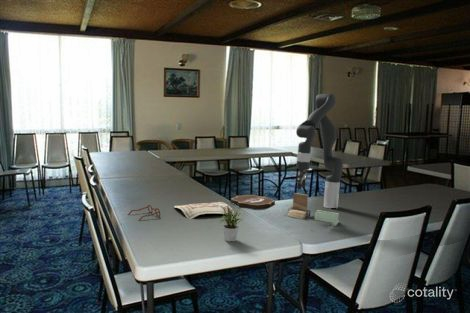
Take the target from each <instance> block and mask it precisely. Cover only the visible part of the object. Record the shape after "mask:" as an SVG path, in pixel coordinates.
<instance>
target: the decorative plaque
mask: <svg viewBox="0 0 470 313" xmlns="http://www.w3.org/2000/svg"><path fill="white" fill-rule="evenodd" d="M231 202H232V203H234V204H236V205H235V206H237V207H238V206H239V207H238V208H244V209H251V210H263V209H270V208H272V207H274V206H275V204H276V200H275V199H273V198H269V197H267V196H261V195H260V196H259V195H254V194H245V195H234V197H231V198H230V203H231ZM234 204H233V205H234Z"/></svg>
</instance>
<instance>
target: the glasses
mask: <svg viewBox="0 0 470 313" xmlns="http://www.w3.org/2000/svg"><path fill="white" fill-rule="evenodd" d="M145 209H147V210H148V212H149V213H150V214H145V215H142V216H141V217H140V218H139V219H138V221H137V222H139V221H141V220H142V219H143V218H145V217H151V216H154V215H156V216H157V217H158V218H159V217H161V211H160V209H159V208H158V207H156V208H154V207H152V205H151V204H147V206H144V207H142V208H139V209H131V210H130V211H129V212H128V213H127V216H130V215H131V214H132V212H140V211H142V210H145ZM150 210H151V211H150ZM153 210H154V211H155V212H154V213H153Z"/></svg>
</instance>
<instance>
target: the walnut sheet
mask: <svg viewBox="0 0 470 313" xmlns="http://www.w3.org/2000/svg"><path fill="white" fill-rule="evenodd" d="M308 200H309V195H308V194H304V193H303V194H302V193H298V192H294V193H293V199H292V207H293V209H296V210H302V211H307V210H308V204H309V203H308Z"/></svg>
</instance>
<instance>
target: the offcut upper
mask: <svg viewBox="0 0 470 313" xmlns="http://www.w3.org/2000/svg"><path fill="white" fill-rule="evenodd" d="M287 213H288V212H287ZM288 214H293V215H299V216H305V215H306V212H305V211H298V210H290V211H289V213H288Z"/></svg>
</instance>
